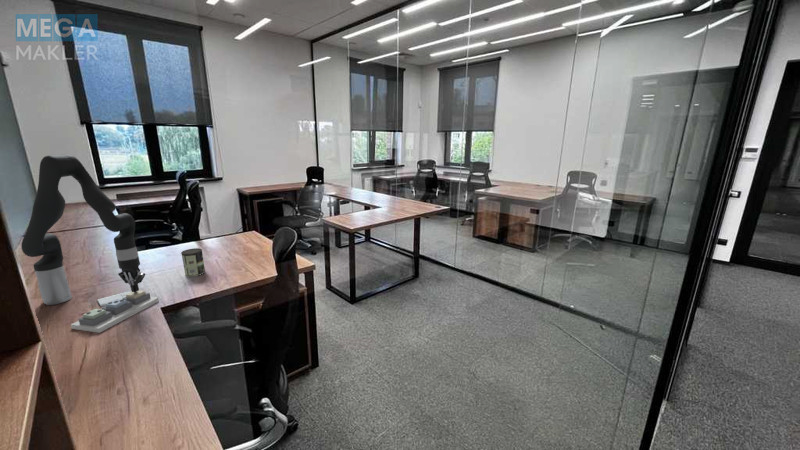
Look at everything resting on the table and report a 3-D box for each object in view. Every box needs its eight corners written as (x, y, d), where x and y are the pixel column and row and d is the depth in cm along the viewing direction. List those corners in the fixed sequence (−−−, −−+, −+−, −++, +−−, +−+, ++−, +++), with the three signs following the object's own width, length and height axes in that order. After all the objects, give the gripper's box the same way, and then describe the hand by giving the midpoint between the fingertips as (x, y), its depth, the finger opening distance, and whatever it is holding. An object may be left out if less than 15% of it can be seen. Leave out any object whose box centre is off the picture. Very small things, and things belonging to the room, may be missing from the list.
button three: (106, 309, 141) (105, 303, 141) (118, 303, 146) (117, 298, 145) (116, 310, 141) (114, 304, 140) (127, 304, 145) (126, 299, 145)
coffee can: (202, 268, 195) (198, 246, 192) (207, 273, 189) (204, 251, 185) (182, 273, 188) (178, 250, 184) (187, 278, 181) (183, 255, 178)
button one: (127, 299, 150) (125, 294, 149) (137, 294, 155) (136, 289, 154) (135, 300, 149) (134, 295, 148) (145, 295, 154) (144, 290, 153)
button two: (84, 319, 133) (82, 314, 132) (97, 313, 138) (95, 308, 137) (93, 321, 132) (92, 315, 131) (106, 315, 137) (105, 309, 136)
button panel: (71, 328, 133) (69, 319, 131) (134, 298, 158) (133, 290, 157) (99, 332, 130) (97, 323, 129) (158, 301, 156) (157, 292, 155)
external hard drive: (97, 302, 155) (130, 293, 164) (100, 307, 150) (134, 298, 159) (97, 299, 155) (129, 290, 164) (100, 304, 150) (133, 295, 159)
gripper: (107, 258, 144) (115, 293, 149) (131, 261, 142) (139, 296, 146) (124, 253, 151) (131, 286, 156) (147, 255, 149) (154, 289, 153)
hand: (135, 291), depth 151 cm, fingers closed
